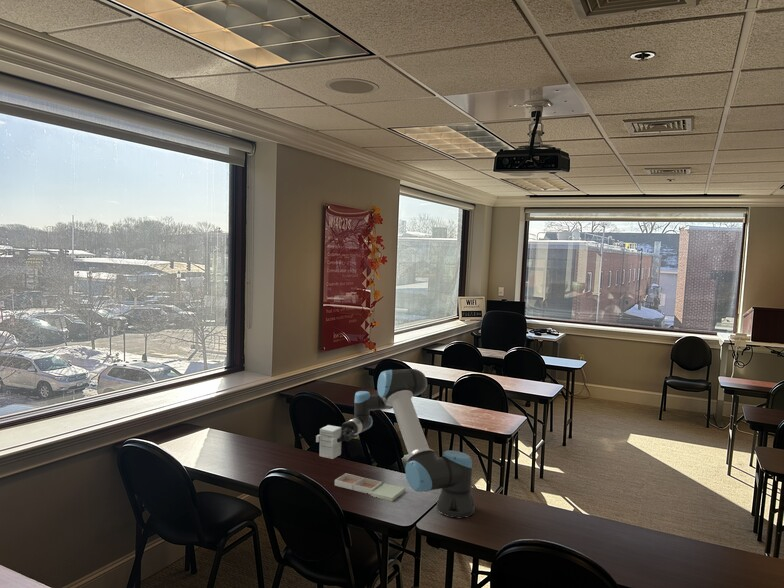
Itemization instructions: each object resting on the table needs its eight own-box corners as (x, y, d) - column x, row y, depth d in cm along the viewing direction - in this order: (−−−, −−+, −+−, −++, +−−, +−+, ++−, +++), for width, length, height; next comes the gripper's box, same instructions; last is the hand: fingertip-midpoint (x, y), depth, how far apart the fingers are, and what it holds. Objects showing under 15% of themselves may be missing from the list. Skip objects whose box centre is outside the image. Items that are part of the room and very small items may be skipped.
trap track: (404, 491, 239) (404, 485, 239) (392, 501, 228) (392, 495, 228) (347, 477, 252) (347, 472, 252) (332, 486, 241) (333, 481, 241)
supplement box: (327, 451, 254) (328, 424, 254) (341, 454, 251) (342, 427, 250) (318, 456, 248) (319, 428, 247) (332, 459, 244) (333, 431, 244)
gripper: (369, 439, 260) (343, 453, 240) (333, 432, 270) (305, 445, 249) (370, 423, 260) (344, 436, 240) (333, 417, 269) (305, 428, 249)
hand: (324, 440), depth 245 cm, fingers closed on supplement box, 7 cm apart
